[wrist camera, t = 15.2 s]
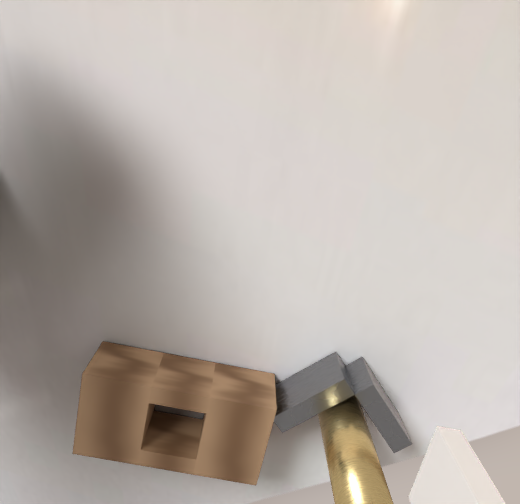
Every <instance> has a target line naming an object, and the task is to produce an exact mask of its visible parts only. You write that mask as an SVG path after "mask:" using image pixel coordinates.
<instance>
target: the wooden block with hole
mask: <svg viewBox="0 0 520 504" xmlns="http://www.w3.org/2000/svg"><path fill="white" fill-rule="evenodd" d="M155 404H156V405H162V406H167V407H173V408H178V409H184V410H189V411H195V412H200V413H204V418H203V420H202V419H197V418H191V417H186V416H180V415H175V414H169V413H164V412H158V411H154V406H155ZM276 411H277V405H276V389H275V374H272V373H267V372H262V371H256V370H251V369H246V368H241V367H235V366H230V365H225V364H220V363H214V362H209V361H204V360H199V359H194V358H188V357H183V356H178V355H173V354H167V353H162V352H157V351H152V350H146V349H141V348H136V347H131V346H125V345H120V344H115V343H110V342H104V341H103V342H102V343H101V345H100V347H99V348H98V350H97V351H96V353H95V354H94V356H93V358H92V359H91V361H90V362H89V364H88V366H87V367H86V369H85V370H84V372H83V373H82V380H81V388H80V397H79V405H78V413H77V422H76V430H75V438H74V446H73V454H77V455H83V456H89V457H95V458H101V459H106V460H112V461H118V462H124V463H129V464H135V465H141V466H147V467H153V468H158V469H164V470H170V471H176V472H181V473H187V474H193V475H199V476H205V477H210V478H216V479H222V480H228V481H233V482H239V483H245V484H251V485H256V484H257V480H258V477H259V473H260V469H261V466H262V462H263V458H264V455H265V451H266V447H267V444H268V440H269V436H270V433H271V429H272V425H273V422H274V418H275V415H276Z"/></svg>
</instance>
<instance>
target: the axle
mask: <svg viewBox="0 0 520 504" xmlns="http://www.w3.org/2000/svg"><path fill="white" fill-rule="evenodd" d="M318 417H319V422H320V427H321V433H322V438H323V443H324V448H325V454H326V459H327V464H328V470H329V475H330V480H331V485H332V491H333V496H334V501H335V504H393V501H392V498H391V495H390V492H389V490H388V486H387V483H386V480H385V477H384V474H383V471H382V468H381V465H380V462H379V459H378V456H377V453H376V450H375V447H374V444H373V441H372V438H371V435H370V432H369V429H368V426H367V423H366V420H365V417H364V414H363V411H362V408H361V405H360V402H359V400H358V399H357V397H356V396H355V395H353V396H351V397H349V398H347V399H345V400H344V401H342V402H340V403H338V404H336V405H334V406H332V407H330V408H328V409H327V410H325V411H323V412H321V413H319V414H318Z"/></svg>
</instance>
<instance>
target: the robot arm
mask: <svg viewBox="0 0 520 504" xmlns="http://www.w3.org/2000/svg"><path fill="white" fill-rule="evenodd" d="M408 498H409V501H410V503H411V504H505V502H504V500H503V499H502V497H501V495H500V494H499V492H498V490H497V489H496V487H495V485H494V484H493V482H492V480H491V479H490V477H489V476H488V474H487V472H486V471H485V469H484V467H483V466H482V464H481V462H480V461H479V459H478V457H477V456H476V454H475V452H474V451H473V449H472V448H471V446H470V444H469V443H468V441H467V439H466V438H465V436H464V434H463V433H462V431H461V430H456V429H450V428H445V427H440V426H437V427H436V429H435V432H434V434H433V437H432V439H431V442H430V444H429V447H428V449H427V452H426V454H425V457H424V459H423V462H422V464H421V467H420V469H419V472H418V474H417V477H416V479H415V482H414V484H413V486H412V489H411V491H410V494H409V496H408Z"/></svg>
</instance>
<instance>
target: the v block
mask: <svg viewBox="0 0 520 504" xmlns="http://www.w3.org/2000/svg"><path fill="white" fill-rule="evenodd" d="M347 372H348V373H347ZM348 375H349V376H348ZM349 378H350V379H349ZM275 389H276V405H277V411H276V415H275V418H274V422H275V424H276V425H277V426H278V428H279V429H280V430H281V432H282V433H283V432H285V431H287V430H289V429H291V428H292V427H294V426H296V425H298V424H300V423H302V422H304V421H306V420H308V419H310V418H311V417H313V416H315V415H317V414H319V413H321V412H323V411H325V410H327V409H328V408H330V407H332V406H334V405H336V404H338V403H340V402H342V401H344V400H345V399H347V398H349V397H351V396H353V395H355V396H356V397H357V399H358V400H359V402H360V403H361V405H362V406H363V408H364V409H365V411H366V412H367V414H368V415H369V417H370V418H371V420H372V421H373V423H374V424H375V426H376V427H377V428H378V430H379V431H380V433H381V434H382V436H383V437H384V439H385V440H386V442H387V443H388V445H389V446H390V448H391V449H392V451H393V452H394V453H395V452H397V451H399V450H401V449H403V448H405V447H407V446H409V445H411V444H412V442H411V440H410V438H409V436H408V433H407V431H406V429H405V427H404V424H403V422H402V420H401V418H400V415H399V413H398V411H397V410H396V408H395V407H394V405H393V403H392V402H391V400H390V399H389V397H388V396H387V394H386V393H385V391H384V390H383V388H382V387H381V385H380V383H379V382H378V380H377V379H376V377H375V376H374V374H373V373H372V371H371V370H370V368H369V366H368V365H367V363H366V362H365V360H364V359H363V357H361V358H359V359H358V360H356V361H354V362H352V363H350V364H348V365H346V366H345V365H344V363H343V362H342V360H341V359H340V357H339V356H338V354H337V353H336V352H335V353H333V354H331V355H329V356H327V357H325V358H324V359H322V360H320V361H318V362H316V363H314V364H313V365H311V366H309V367H307V368H305V369H304V370H302V371H300V372H298V373H296V374H294V375H293V376H291V377H289V378H287V379H285V380H284V381H282V382H280V383H278V384H276V385H275Z"/></svg>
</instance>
